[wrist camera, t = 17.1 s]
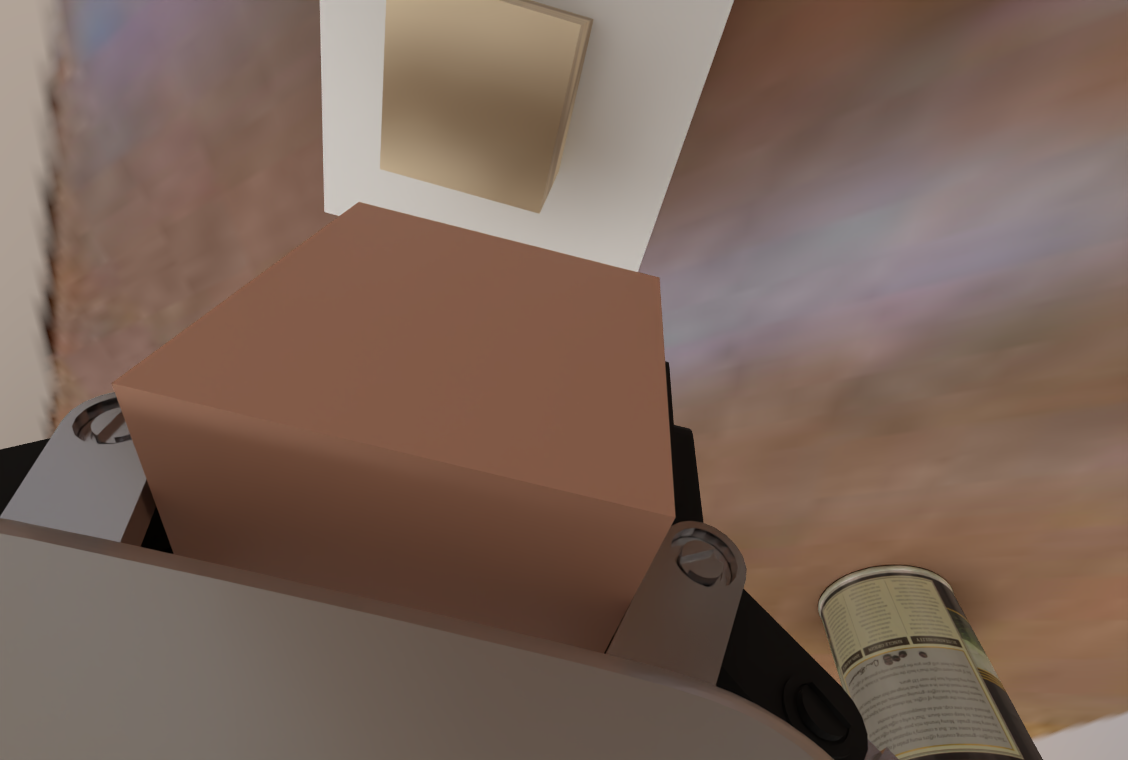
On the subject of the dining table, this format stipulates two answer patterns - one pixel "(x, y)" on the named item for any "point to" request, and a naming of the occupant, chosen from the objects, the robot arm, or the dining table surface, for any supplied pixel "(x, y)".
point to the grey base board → (594, 140)
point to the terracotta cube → (421, 426)
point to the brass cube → (480, 94)
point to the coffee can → (919, 669)
